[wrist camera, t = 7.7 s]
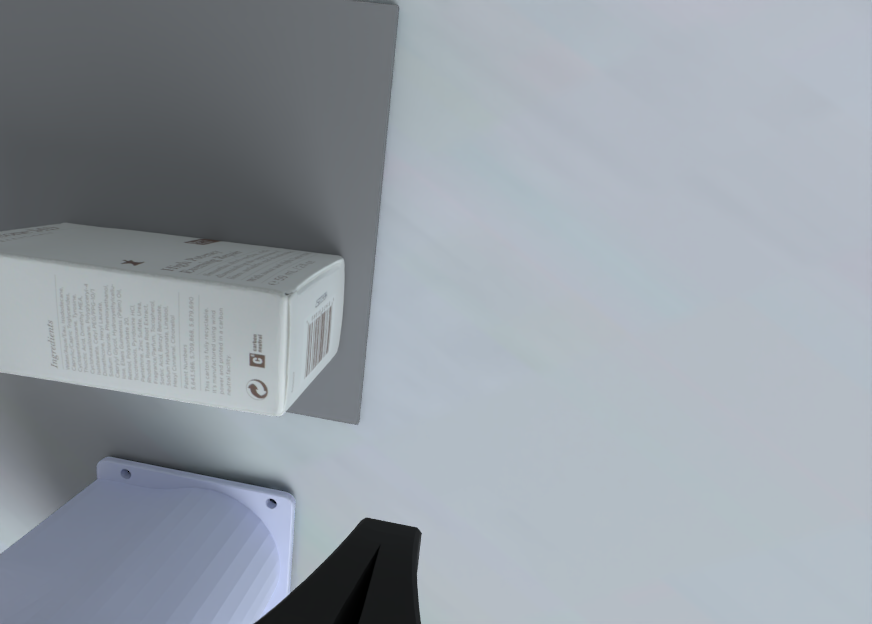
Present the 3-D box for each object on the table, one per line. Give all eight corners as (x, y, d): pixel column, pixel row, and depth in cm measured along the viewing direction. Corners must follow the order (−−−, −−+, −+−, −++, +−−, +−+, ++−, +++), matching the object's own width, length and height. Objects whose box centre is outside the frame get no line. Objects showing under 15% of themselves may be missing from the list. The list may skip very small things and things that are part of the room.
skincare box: (293, 289, 16) (-95, 229, 17) (286, 429, 17) (-75, 367, 18) (350, 253, 22) (61, 211, 23) (341, 359, 23) (68, 315, 24)
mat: (9, 357, 25) (3, 359, 25) (-33, -40, 21) (-41, -43, 20) (359, 421, 24) (357, 424, 23) (399, 7, 19) (397, 5, 19)
